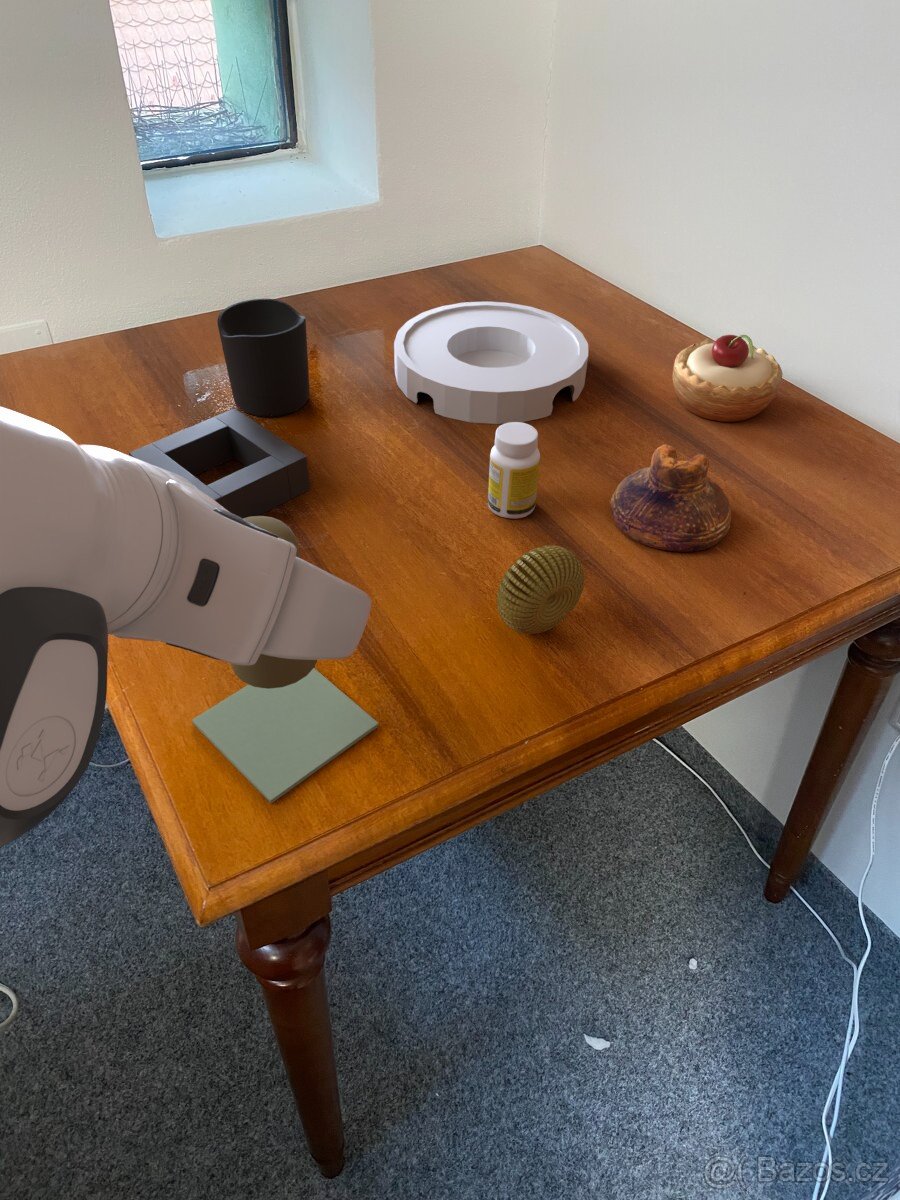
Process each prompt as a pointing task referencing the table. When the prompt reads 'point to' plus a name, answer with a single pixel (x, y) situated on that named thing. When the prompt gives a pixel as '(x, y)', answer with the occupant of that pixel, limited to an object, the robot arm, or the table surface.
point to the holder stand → (233, 435)
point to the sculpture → (540, 589)
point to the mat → (284, 731)
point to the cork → (272, 668)
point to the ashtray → (490, 361)
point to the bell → (672, 504)
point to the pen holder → (265, 356)
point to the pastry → (726, 378)
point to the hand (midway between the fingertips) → (269, 582)
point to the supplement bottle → (514, 470)
